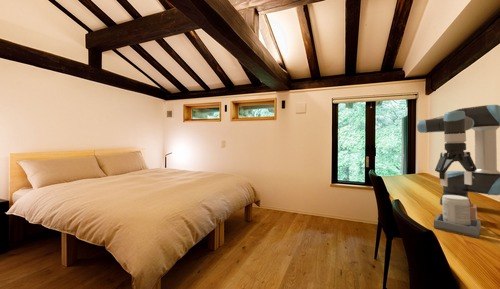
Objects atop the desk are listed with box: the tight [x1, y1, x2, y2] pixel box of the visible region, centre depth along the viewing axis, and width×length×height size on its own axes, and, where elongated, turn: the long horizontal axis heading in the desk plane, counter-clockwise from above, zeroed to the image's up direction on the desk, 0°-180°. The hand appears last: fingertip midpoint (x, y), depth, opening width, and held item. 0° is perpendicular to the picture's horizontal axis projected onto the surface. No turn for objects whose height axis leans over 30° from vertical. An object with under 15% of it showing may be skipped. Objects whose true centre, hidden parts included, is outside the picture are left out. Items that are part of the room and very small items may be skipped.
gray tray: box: [433, 212, 482, 239], centre depth 100 cm, size 15×15×4 cm
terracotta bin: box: [469, 202, 478, 220], centre depth 109 cm, size 10×10×9 cm
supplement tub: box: [441, 194, 471, 227], centre depth 100 cm, size 10×10×15 cm
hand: (456, 185), depth 100 cm, fingers open, 13 cm apart
